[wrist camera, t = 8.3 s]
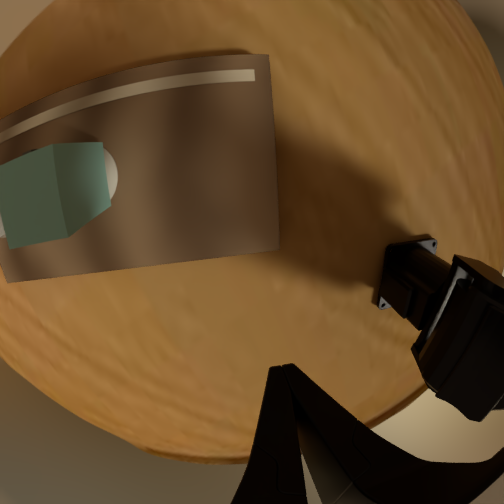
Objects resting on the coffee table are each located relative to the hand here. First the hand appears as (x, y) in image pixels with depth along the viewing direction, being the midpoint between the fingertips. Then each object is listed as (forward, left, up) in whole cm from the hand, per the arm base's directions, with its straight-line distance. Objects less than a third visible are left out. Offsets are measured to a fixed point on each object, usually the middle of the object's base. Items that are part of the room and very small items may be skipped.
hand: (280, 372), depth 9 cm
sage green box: (+10, -7, -10) cm, 16 cm away
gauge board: (+9, -7, -12) cm, 16 cm away
